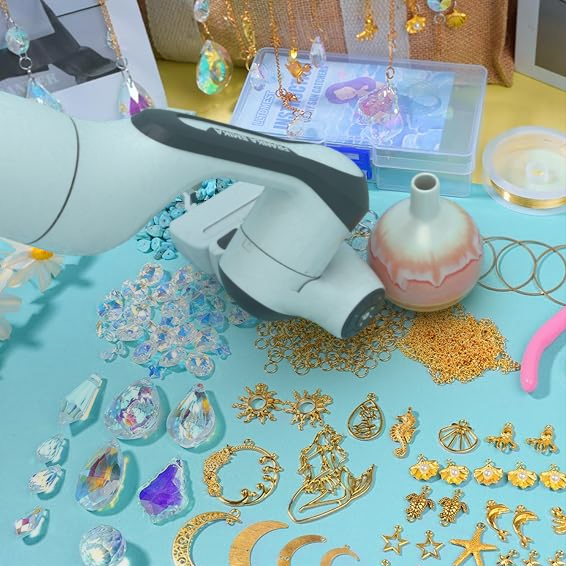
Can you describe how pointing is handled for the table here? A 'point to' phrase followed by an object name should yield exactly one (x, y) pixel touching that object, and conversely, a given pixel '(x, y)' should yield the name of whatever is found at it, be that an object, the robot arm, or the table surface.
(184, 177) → the robot arm
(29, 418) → the table surface
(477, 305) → the table surface
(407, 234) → the vase
